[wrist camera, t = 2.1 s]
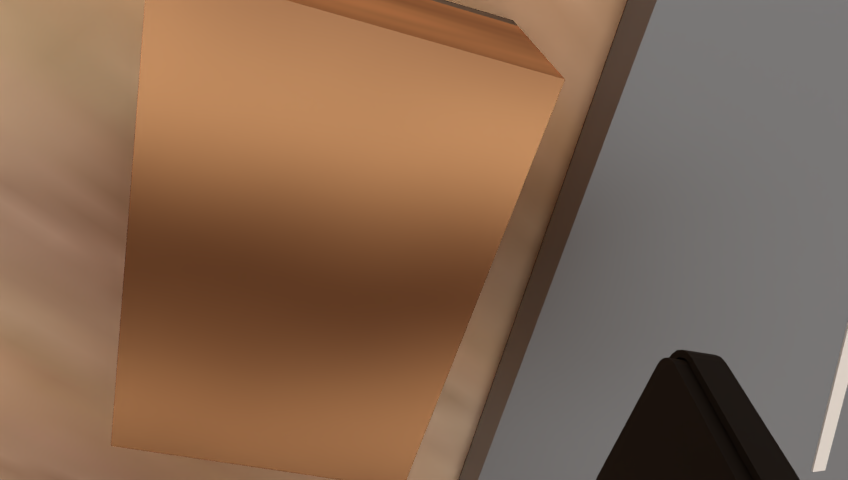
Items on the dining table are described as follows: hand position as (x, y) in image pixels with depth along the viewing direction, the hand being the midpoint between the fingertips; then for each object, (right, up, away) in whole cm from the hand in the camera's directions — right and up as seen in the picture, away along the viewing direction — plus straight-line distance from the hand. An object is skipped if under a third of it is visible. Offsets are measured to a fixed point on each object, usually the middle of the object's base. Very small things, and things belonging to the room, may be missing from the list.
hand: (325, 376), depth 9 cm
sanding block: (-1, +3, +8) cm, 8 cm away
